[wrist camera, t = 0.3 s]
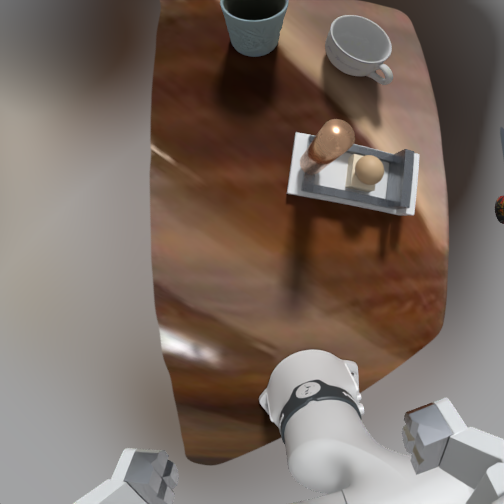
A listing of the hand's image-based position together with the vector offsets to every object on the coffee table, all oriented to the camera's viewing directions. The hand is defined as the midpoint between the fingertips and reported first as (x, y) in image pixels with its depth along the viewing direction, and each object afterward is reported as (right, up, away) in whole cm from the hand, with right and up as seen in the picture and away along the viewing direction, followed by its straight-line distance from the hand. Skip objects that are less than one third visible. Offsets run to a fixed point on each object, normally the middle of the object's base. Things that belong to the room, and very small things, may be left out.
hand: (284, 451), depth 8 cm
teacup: (+17, +40, +38) cm, 58 cm away
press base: (+15, +19, +40) cm, 47 cm away
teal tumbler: (-1, +45, +38) cm, 59 cm away
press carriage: (+15, +19, +38) cm, 45 cm away
